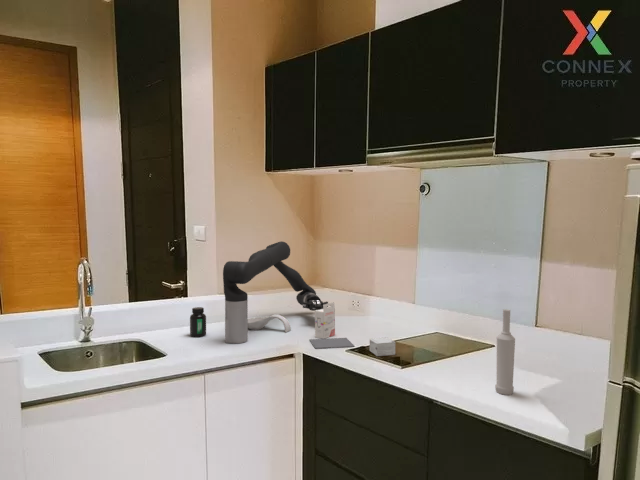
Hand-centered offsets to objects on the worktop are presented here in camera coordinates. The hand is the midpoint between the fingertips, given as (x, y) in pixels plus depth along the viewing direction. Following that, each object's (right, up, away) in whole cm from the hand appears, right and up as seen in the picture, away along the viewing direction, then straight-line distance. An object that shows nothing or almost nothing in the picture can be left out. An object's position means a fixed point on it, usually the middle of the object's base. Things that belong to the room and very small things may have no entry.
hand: (319, 308), depth 224 cm
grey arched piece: (-25, -10, +1) cm, 27 cm away
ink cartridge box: (+2, -11, -12) cm, 16 cm away
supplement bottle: (-53, -10, -12) cm, 55 cm away
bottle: (+56, -15, -77) cm, 96 cm away
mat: (+5, -11, -24) cm, 27 cm away
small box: (+24, -12, -36) cm, 45 cm away
